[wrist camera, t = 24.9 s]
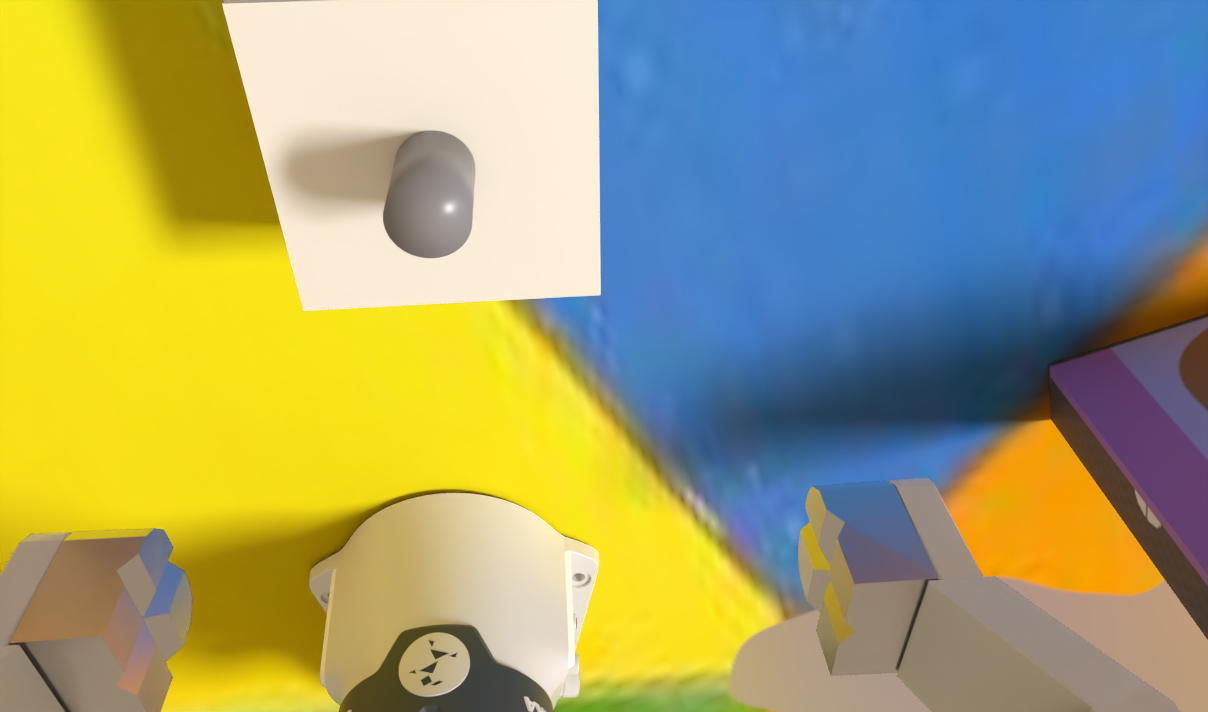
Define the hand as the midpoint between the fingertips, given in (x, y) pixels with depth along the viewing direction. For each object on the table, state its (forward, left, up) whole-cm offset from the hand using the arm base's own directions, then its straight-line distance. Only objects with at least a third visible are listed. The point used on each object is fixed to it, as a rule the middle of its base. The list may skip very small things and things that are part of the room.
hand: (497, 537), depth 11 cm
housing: (-6, +3, -30) cm, 31 cm away
